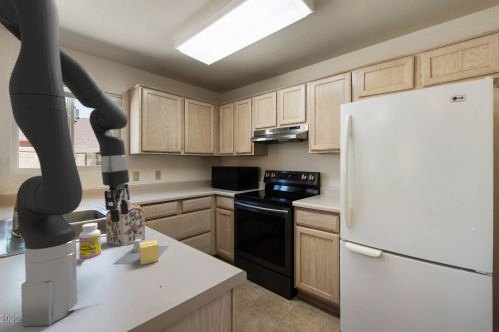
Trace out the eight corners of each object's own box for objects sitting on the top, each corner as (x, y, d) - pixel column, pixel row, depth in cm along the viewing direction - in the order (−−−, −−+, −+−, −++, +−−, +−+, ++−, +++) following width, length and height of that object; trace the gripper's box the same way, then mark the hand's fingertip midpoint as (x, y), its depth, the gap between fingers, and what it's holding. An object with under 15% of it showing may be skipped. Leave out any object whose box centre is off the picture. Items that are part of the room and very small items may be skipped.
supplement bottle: (76, 263, 81) (75, 227, 81) (84, 255, 88) (83, 222, 87) (97, 260, 83) (96, 226, 83) (103, 253, 89) (103, 221, 89)
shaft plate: (153, 266, 78) (153, 251, 78) (113, 267, 78) (112, 252, 77) (169, 248, 94) (169, 236, 94) (135, 249, 94) (135, 236, 93)
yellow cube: (158, 260, 80) (158, 243, 80) (141, 264, 77) (140, 246, 77) (155, 255, 85) (155, 239, 84) (139, 258, 82) (139, 242, 82)
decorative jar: (129, 235, 111) (128, 199, 111) (146, 238, 106) (145, 200, 106) (105, 243, 100) (104, 203, 100) (122, 247, 95) (121, 205, 95)
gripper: (111, 168, 80) (116, 213, 81) (91, 172, 66) (98, 226, 67) (133, 167, 81) (138, 210, 83) (119, 170, 67) (125, 223, 69)
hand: (120, 217), depth 75 cm, fingers open, 8 cm apart
